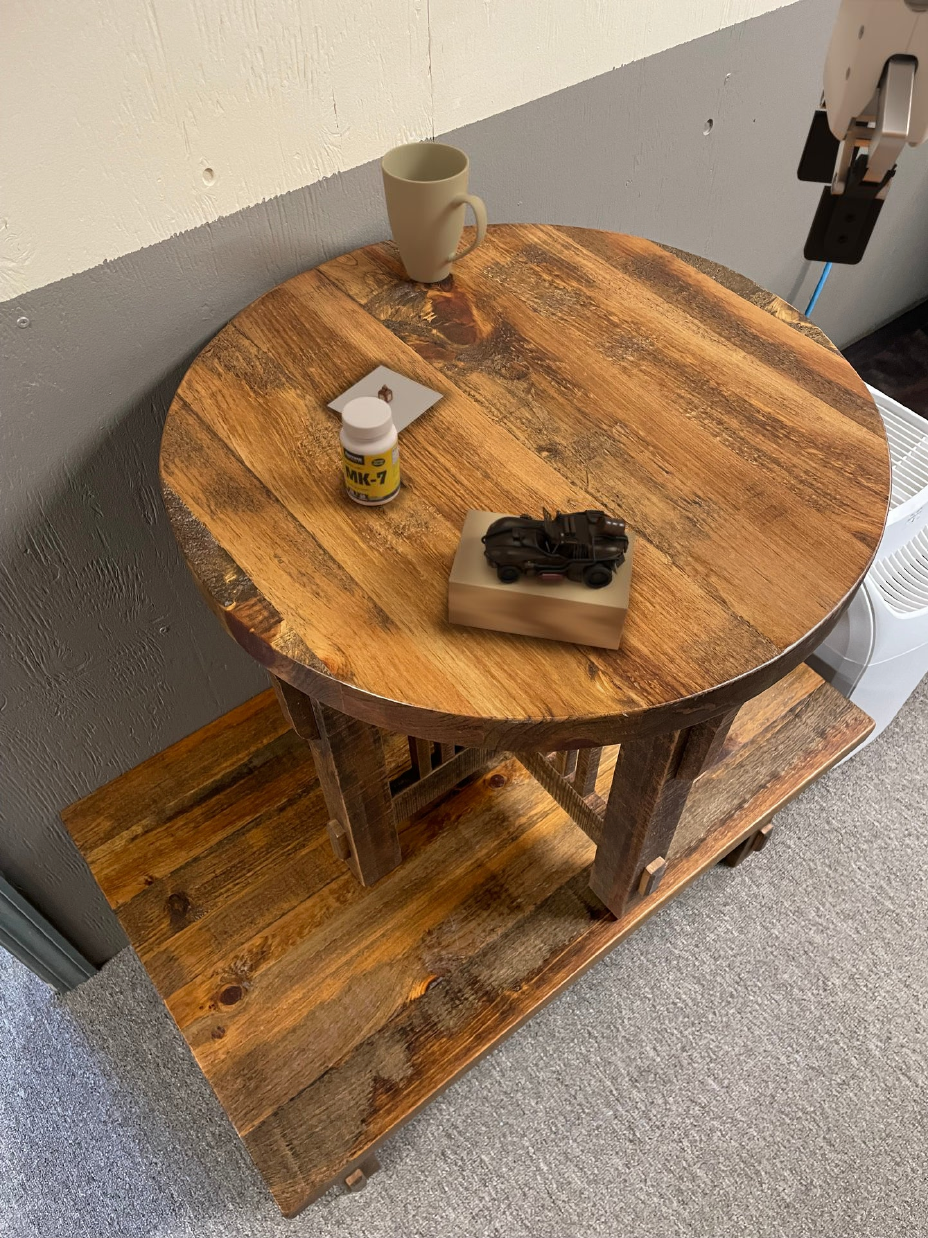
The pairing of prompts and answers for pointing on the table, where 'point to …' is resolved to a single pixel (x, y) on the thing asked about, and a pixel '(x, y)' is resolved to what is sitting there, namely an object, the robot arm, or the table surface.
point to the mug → (429, 206)
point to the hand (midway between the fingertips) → (825, 218)
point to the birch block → (534, 596)
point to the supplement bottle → (369, 451)
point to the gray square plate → (391, 395)
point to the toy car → (557, 547)
